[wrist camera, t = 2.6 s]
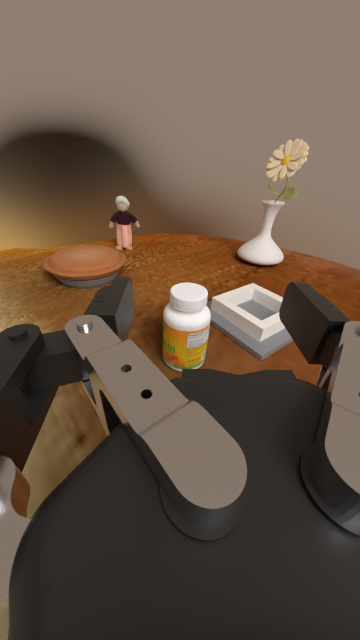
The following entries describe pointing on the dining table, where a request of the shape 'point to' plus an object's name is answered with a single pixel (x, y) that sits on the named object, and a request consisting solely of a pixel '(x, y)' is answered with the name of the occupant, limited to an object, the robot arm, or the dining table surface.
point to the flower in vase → (275, 203)
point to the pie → (85, 265)
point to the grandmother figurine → (123, 224)
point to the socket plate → (250, 319)
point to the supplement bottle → (186, 327)
